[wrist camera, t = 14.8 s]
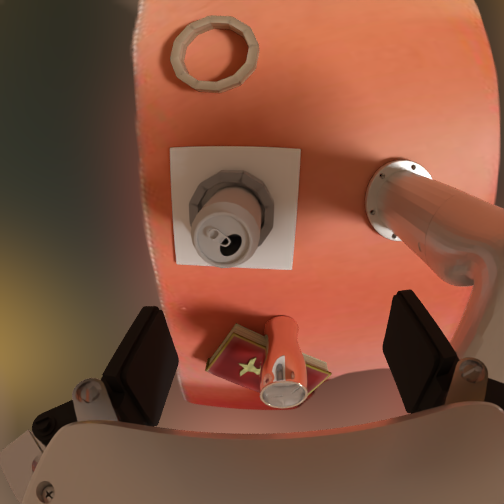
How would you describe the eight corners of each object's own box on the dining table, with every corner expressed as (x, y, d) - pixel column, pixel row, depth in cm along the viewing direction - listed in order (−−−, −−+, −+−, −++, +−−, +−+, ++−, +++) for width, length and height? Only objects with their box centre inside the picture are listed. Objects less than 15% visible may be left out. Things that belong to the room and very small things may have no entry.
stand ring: (275, 49, 30) (275, 43, 28) (221, 107, 34) (218, 106, 32) (212, 10, 28) (208, 3, 25) (161, 67, 32) (154, 63, 29)
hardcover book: (294, 392, 56) (295, 406, 52) (207, 358, 53) (204, 373, 49) (328, 360, 52) (331, 375, 48) (235, 319, 48) (233, 334, 45)
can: (239, 244, 41) (229, 287, 30) (198, 213, 40) (173, 245, 29) (272, 207, 39) (274, 237, 28) (230, 173, 37) (215, 190, 26)
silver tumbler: (307, 320, 47) (318, 387, 33) (289, 347, 50) (294, 412, 36) (271, 308, 46) (271, 375, 33) (255, 336, 49) (250, 402, 35)
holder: (300, 148, 36) (303, 150, 33) (291, 268, 43) (293, 277, 40) (171, 147, 37) (163, 148, 34) (177, 262, 44) (171, 271, 41)
